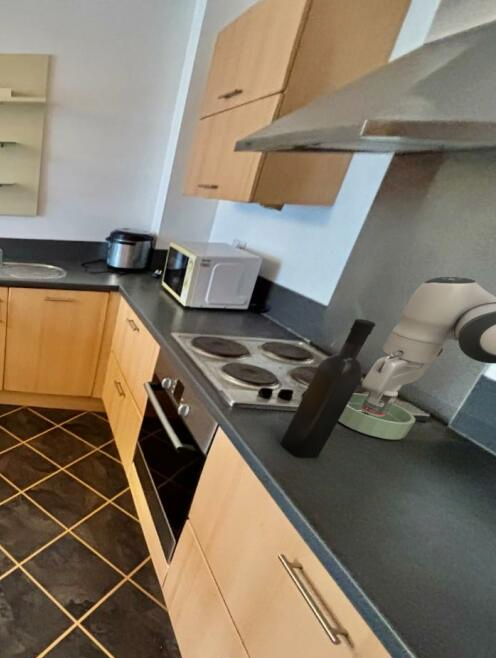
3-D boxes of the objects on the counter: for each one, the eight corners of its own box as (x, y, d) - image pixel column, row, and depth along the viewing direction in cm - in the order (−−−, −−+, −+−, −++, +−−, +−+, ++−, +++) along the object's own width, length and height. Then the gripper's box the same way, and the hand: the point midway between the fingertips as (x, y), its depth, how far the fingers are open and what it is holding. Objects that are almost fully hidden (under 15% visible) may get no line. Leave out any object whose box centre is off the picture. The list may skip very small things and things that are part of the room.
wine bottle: (277, 442, 94) (339, 315, 80) (301, 442, 94) (366, 317, 80) (295, 458, 89) (364, 326, 75) (320, 458, 89) (393, 327, 75)
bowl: (415, 433, 101) (426, 416, 98) (386, 447, 95) (397, 429, 92) (347, 404, 112) (356, 388, 110) (317, 415, 106) (326, 398, 104)
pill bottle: (356, 408, 103) (373, 378, 99) (366, 405, 105) (384, 376, 101) (378, 418, 99) (396, 387, 95) (388, 415, 101) (407, 385, 97)
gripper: (406, 360, 87) (372, 415, 93) (447, 348, 96) (414, 400, 102) (371, 349, 92) (341, 402, 98) (413, 338, 100) (383, 388, 107)
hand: (379, 401), depth 100 cm, fingers closed on pill bottle, 5 cm apart
